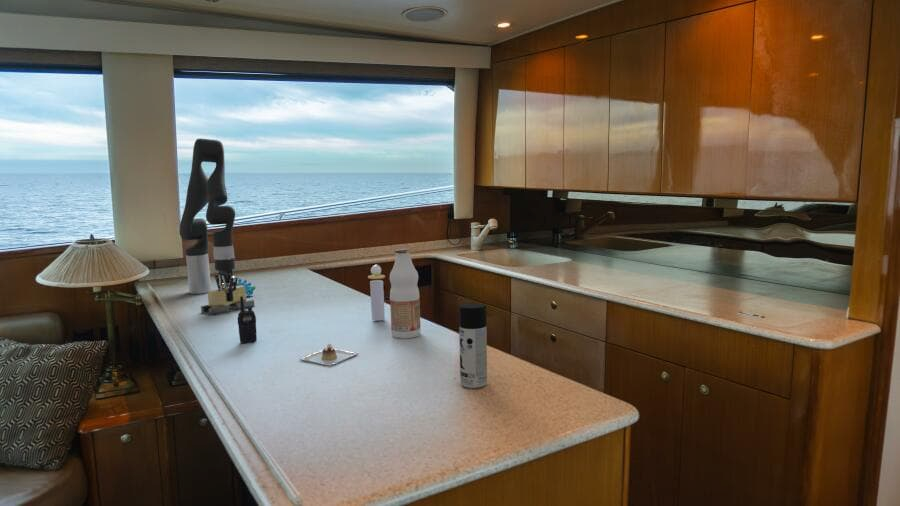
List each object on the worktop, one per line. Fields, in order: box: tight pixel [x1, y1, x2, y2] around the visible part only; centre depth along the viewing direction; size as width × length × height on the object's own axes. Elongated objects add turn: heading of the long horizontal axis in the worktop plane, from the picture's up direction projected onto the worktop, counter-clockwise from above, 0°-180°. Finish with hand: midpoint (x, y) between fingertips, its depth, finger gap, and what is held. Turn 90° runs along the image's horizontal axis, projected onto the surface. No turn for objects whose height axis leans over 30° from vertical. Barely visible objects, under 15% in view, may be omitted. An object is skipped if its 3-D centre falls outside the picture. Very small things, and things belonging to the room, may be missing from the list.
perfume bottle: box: [367, 264, 386, 321], centre depth 211 cm, size 6×6×20 cm
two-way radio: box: [237, 296, 257, 344], centre depth 189 cm, size 6×4×15 cm
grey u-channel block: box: [200, 299, 255, 316], centre depth 235 cm, size 8×18×2 cm, turn 139°
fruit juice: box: [389, 247, 422, 340], centre depth 191 cm, size 9×9×28 cm
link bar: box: [207, 285, 247, 308], centre depth 235 cm, size 3×14×6 cm, turn 139°
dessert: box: [299, 343, 359, 367], centre depth 172 cm, size 12×12×5 cm
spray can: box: [458, 302, 488, 390], centre depth 147 cm, size 7×7×20 cm
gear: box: [233, 278, 257, 298], centre depth 259 cm, size 11×6×10 cm
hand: (227, 300), depth 235 cm, fingers closed on link bar, 3 cm apart
